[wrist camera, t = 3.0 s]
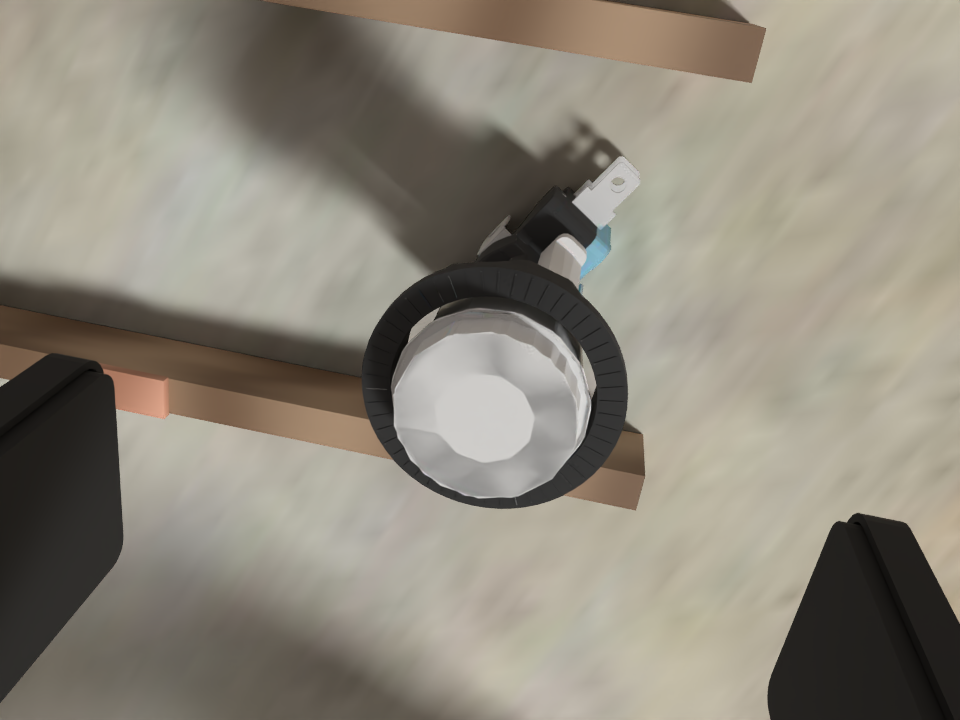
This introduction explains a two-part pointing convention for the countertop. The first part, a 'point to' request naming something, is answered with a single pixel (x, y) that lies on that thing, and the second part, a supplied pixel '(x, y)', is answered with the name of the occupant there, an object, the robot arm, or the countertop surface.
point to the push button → (506, 360)
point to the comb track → (338, 397)
